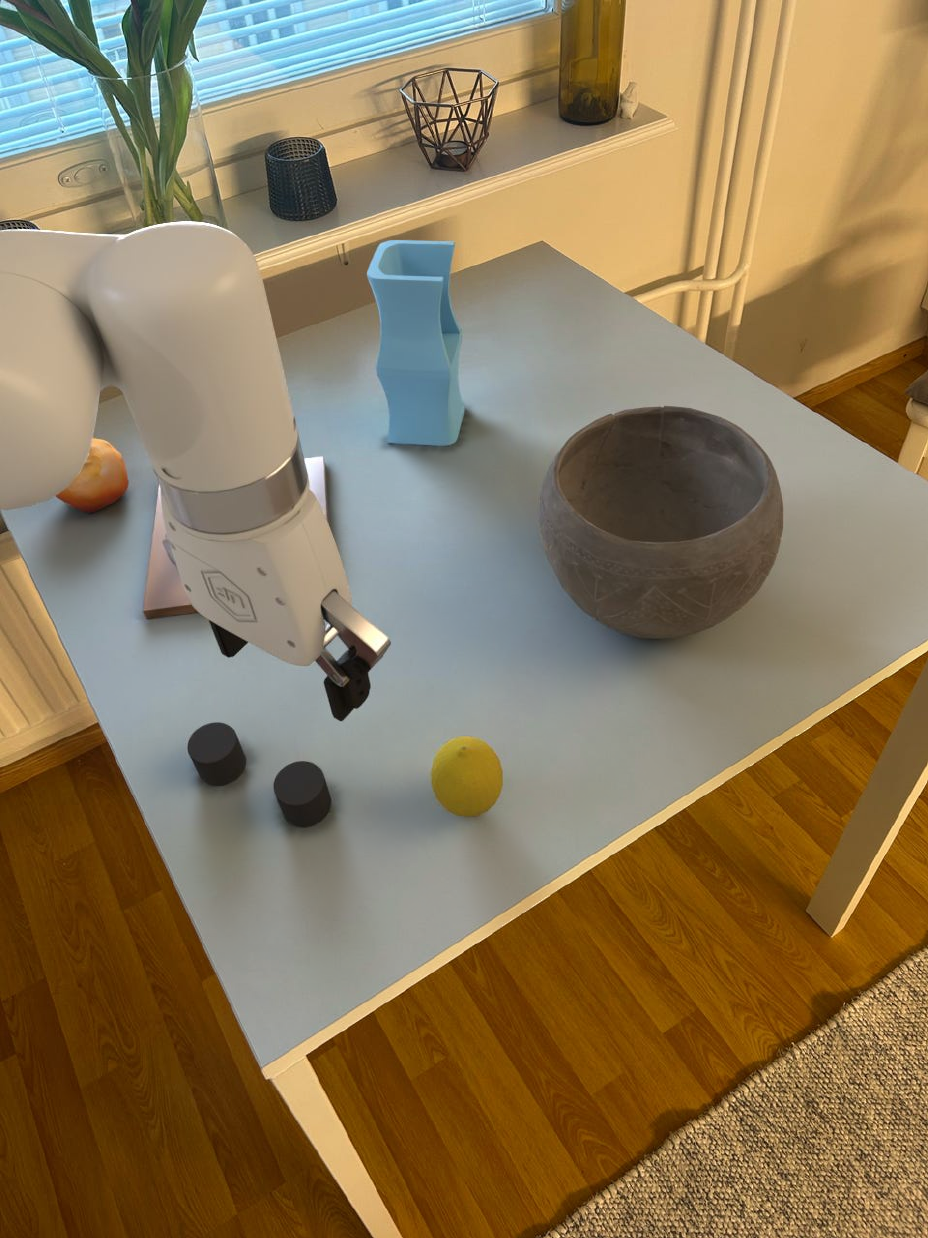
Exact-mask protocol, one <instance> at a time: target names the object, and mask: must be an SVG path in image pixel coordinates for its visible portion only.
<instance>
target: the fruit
mask: <svg viewBox="0 0 928 1238" xmlns="http://www.w3.org/2000/svg"><path fill="white" fill-rule="evenodd" d="M126 467H127V466H126V463H125V459H124V457H123V455H122V453H120V452H119V451H118V450H117V449H116V448H115V446H113V445H112V443H110V442H109V441H106V440H105V439H99V438H95V437H93V439H92V444H91V449H90V452H89V455H88V458H87V460H86V462H85V464H84V466H83V468H82V470H81V472H80V473H79V475H78V476H77V477H76V478H75V479H74V480H73V482H72V483H71V484H70V485H69V486H68V487H67V488H66V489H65V490H63V491H62V492H60V493H59V494H57V495H56V496H55V497H56V498H57V499H58V500H59V501H61V502H62V503H65V504H66V505H68V506H70V507H73V508H74V509H76V510H78V511H80V512H82V513H86V514H91V513H95V512H98V511H100V510H103V509H104V508H106V507H108V506H110V505H111V504H113V503H115V502H117V501H118V500H119V499H120V498H121V497H123V495H125V493H126V492H127V490H128V488H129V484H130V481H129V476H128V471H127V468H126Z"/></svg>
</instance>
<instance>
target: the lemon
mask: <svg viewBox="0 0 928 1238" xmlns="http://www.w3.org/2000/svg"><path fill="white" fill-rule="evenodd" d="M430 781H431V782H430V783H431V784H430V785H431V789H432V791H433V795H434V797H435V799H436V800H437V802H438V803H439V805H440V806H441V807H442V808H443V809H445V810H446V811H448V812H449V813H450V814H452V815H454V816H456V817H460V818H461V817H463V818H474V817H477V816H481V815H483V814H484V813H486V812H488V811H489V810H490V809H492V808H493V806H494V805H496V802H497V801H498V800H499V797H500V796H501V792H502V789H503V785H504V783H503V782H504V772H503V768H502V764H501V761H500V759H499V756H498V755H497V753H496V752H495V750H494V749H493V748H492V747H491V745H489V743H487V742H486V741H485V740H483V739H481V738H479V737H475V736H470V735H461V736H457V737H454V738H451V739H449V740H448V741H447V742H445V743H444V744H443V745H442V746H441V747H440V748H439V749H438V751H437V752H436V754H435V757H434V758H433V761H432V766H431V770H430Z"/></svg>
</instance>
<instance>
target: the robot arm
mask: <svg viewBox="0 0 928 1238" xmlns="http://www.w3.org/2000/svg"><path fill="white" fill-rule="evenodd" d="M258 263H259V262H258V261H257V259H256V257H255V255H254V253H253V252H252V250H251V249H250V247H249V246H248V245H247V244H246V243H245V242H244V241H243V239H241V238H240V237H239V236H238V235H237V234H235V233H233V232H232V231H230V230H228V229H226V228H223V227H220V226H217V225H216V224H212V223H207V222H199V221H176V222H166V223H160V224H155V225H152V226H148V227H143V228H141V229H138V230H135V231H133V232H130V233H127V234H99V233H97V234H96V233H81V232H69V231H56V230H55V231H54V230H42V229H41V230H39V229H2V230H1V229H0V511H8V510H17V509H22V508H29V507H32V506H36V505H39V504H41V503H44V502H46V501H50V500H51V499H52V498H54V497H56V495H57V494H59V493H60V492H62V491H63V490H65V489H66V488H67V487H68V486H69V485H70V484H71V483H72V482H73V480H74V479H75V478H76V477H77V476H78V475H79V473H80V472H81V470H82V468H83V466H84V464H85V462H86V460H87V458H88V455H89V452H90V449H91V444H92V439H93V438H94V434H95V433H94V432H95V429H96V428H95V427H96V423H97V417H98V411H99V405H100V404H99V403H100V395H101V392H102V390H104V389H105V388H108V387H114V388H117V389H118V390H119V391H121V392H122V394H123V396H124V399H125V401H126V403H127V406H128V409H129V411H130V414H131V416H132V419H133V421H134V424H135V426H136V429H137V432H138V435H139V437H140V439H141V442H142V444H143V447H144V449H145V452H146V454H147V458H148V460H149V462H150V465H151V467H152V470H153V472H154V475H155V477H156V481H157V482H158V486H159V485H160V488H161V505H162V512H163V519H164V523H165V528H166V532H167V536H168V537H167V538H166V539H165V540H163V541H162V543H163V546H164V547H165V549H166V550H167V551H168V553H169V554H170V556H171V557H172V558H173V560H174V561H175V563H176V566H177V569H178V572H179V575H180V577H181V580H182V583H183V586H184V588H185V591H186V593H187V596H188V598H189V600H190V602H191V604H192V606H193V607H194V608H195V609H196V610H197V611H198V612H197V613H199V614H200V615H201V616H203V617H204V618H206V619H207V621H208V623H209V625H210V627H211V630H212V633H213V635H214V638H215V640H216V643H217V646H218V648H219V651H220V653H221V655H223V656H224V657H226V658H228V659H229V658H233V657H235V656H236V655H237V654H238V653H240V651H241V650H242V649H244V647H245V646H247V644H249V643H250V644H251V645H253V646H255V647H257V648H258V649H261V650H262V651H263V652H265V653H267V654H270V655H271V656H273V657H275V658H277V659H278V660H280V661H283V662H285V663H288V664H290V665H294V666H299V667H308V666H310V665H312V664H313V663H314V662H315V663H316V664H317V665H318V666H319V668H320V669H321V670H322V671H323V672H324V673H325V674H326V677H325V678H324V679H323V686H324V690H325V694H326V697H327V700H328V704H329V709H330V712H331V715H332V717H333V719H336V720H337V721H338V722H344V721H345V719H346V718H347V717H348V716H349V715H350V714H351V713H352V712H353V710H354V709H356V710H357V709H359V708H360V707H362V705H363V704H365V702H366V701H367V700H368V697H369V696H370V692H371V689H372V688H371V687H372V686H371V680H370V676H369V672H370V671H371V670H372V669H373V668H374V667H375V666H376V665H377V664H378V663H379V662H380V660H382V658H383V657H384V655H385V653H386V652H387V650H388V649H389V648H390V646H391V644H392V642H391V639H390V638H389V637H388V636H387V634H385V633H384V632H383V631H381V629H380V628H378V627H377V626H376V625H374V623H372V622H371V621H370V620H369V619H368V618H366V617H365V616H364V615H363V614H362V613H361V612H360V611H358V610H357V608H355V607H354V606H353V601H352V596H351V589H350V586H349V582H348V578H347V574H346V571H345V568H344V564H343V561H342V556H341V554H340V552H339V548H338V546H337V543H336V540H335V538H334V535H333V532H332V529H331V527H330V524H328V522H327V520H326V517H325V515H324V512H323V510H322V508H321V506H320V504H319V502H318V500H317V497H316V495H315V494H314V493H313V492H312V491H311V490H309V487H310V483H309V477H308V472H307V469H306V465H305V460H304V458H305V456H304V452H303V448H302V444H301V440H300V436H299V431H298V426H297V422H296V417H295V414H294V410H293V406H292V402H291V396H290V392H289V389H288V384H287V378H286V375H285V374H286V373H285V369H284V365H283V362H282V357H281V353H280V349H279V344H278V341H277V336H276V331H275V328H274V322H273V319H272V314H271V310H270V306H269V302H268V298H267V293H266V289H265V288H266V287H265V285H264V280H263V277H262V274H261V271H260V267H259V264H258ZM325 622H326V623H328V624H327V625H326V623H325ZM336 637H338V638H339V639H340V640H341V642H342V644H344V645H345V646H346V648H347V649H346V651H345V652H343V654H342V655H341V656H340V657H339V658H338V659H337V660H336V658H335V657H334V656H333V655H332V653H330V651H329V650H328V649H327V646H329V644H331V642H332V641H333V640H334V639H335V638H336Z"/></svg>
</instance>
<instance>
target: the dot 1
mask: <svg viewBox="0 0 928 1238" xmlns="http://www.w3.org/2000/svg"><path fill="white" fill-rule="evenodd" d="M186 747H187V748H186V749H187V753H188V756H189V757H190V760H191V762H192V763H193V766H194V767H195V769H196V772H197V773H198V775H199V777H200V779H201V780H202V781H203V782H204V783H206V784H208V785H210V786H214V787H221V786H225V785H226V786H227V785H229V784H231V783H233V782H235V781H236V780H237V779H238V778H239V777H240V776H241V775H242V774H243V773H244V771H245V769H246V766H247V757H246V754H245V751H244V749H243V747H242V745H241V742H240V740H239V738H238V735H237V733H236V731H235V729H234V728H233V727H232V726H230V725H229V724H227V723H224V722H220V721H217V722H210V723H206V724H204V725H202V726H200V727H198V728H197V729H196V730H195V731H194V732H192V734H191V735H190V737H189V739H188V742H187V746H186Z"/></svg>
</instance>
